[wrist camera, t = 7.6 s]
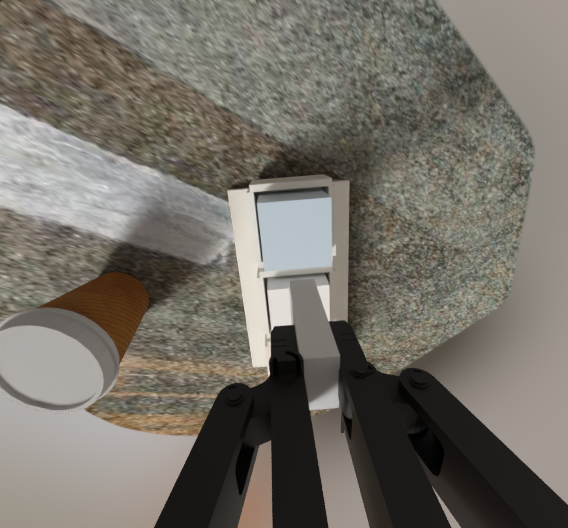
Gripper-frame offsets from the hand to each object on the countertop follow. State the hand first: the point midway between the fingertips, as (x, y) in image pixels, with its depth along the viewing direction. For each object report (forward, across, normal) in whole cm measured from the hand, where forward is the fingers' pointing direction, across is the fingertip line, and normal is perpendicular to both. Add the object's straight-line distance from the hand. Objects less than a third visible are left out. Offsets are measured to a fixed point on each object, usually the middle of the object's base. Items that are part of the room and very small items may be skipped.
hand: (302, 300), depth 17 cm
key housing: (+15, 0, -6) cm, 16 cm away
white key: (+12, +1, -6) cm, 13 cm away
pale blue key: (+11, 0, +2) cm, 11 cm away
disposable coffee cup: (+15, -20, -7) cm, 25 cm away
